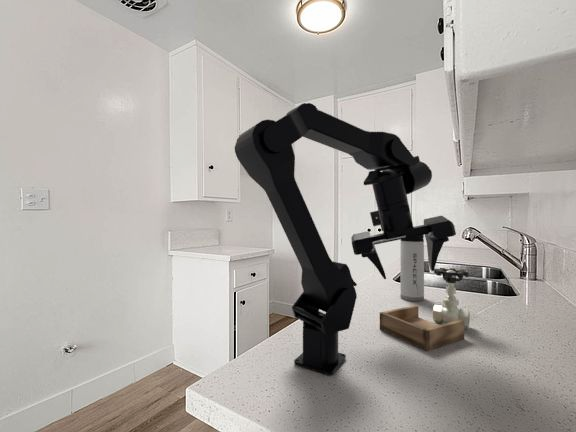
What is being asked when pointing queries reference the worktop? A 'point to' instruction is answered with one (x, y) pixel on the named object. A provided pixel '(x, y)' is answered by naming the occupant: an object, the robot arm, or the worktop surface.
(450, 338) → the tray
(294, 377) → the worktop surface
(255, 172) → the robot arm
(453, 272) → the valve
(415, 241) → the travel mug
